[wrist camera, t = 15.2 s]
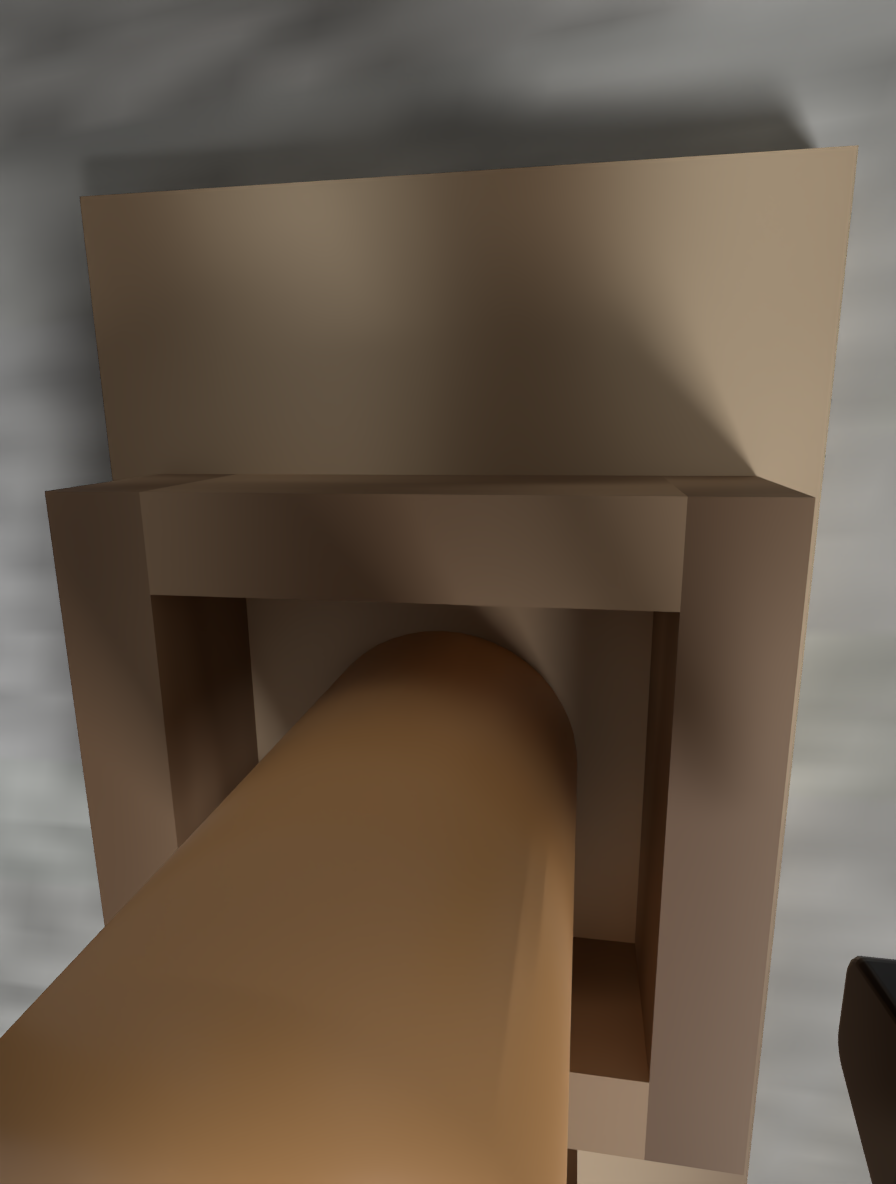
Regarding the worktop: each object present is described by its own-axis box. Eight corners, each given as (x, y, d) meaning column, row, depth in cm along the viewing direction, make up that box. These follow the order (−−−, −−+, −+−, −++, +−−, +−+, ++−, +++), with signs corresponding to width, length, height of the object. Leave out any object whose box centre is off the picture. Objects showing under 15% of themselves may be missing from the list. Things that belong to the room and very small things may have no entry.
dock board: (830, 172, 10) (1037, -25, 5) (700, 1465, 15) (748, 1883, 11) (122, 215, 11) (-163, 92, 7) (242, 1366, 17) (126, 1694, 13)
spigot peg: (581, 636, 10) (573, 1030, 4) (573, 885, 11) (554, 1555, 5) (312, 625, 11) (-95, 940, 5) (325, 860, 12) (3, 1413, 5)
